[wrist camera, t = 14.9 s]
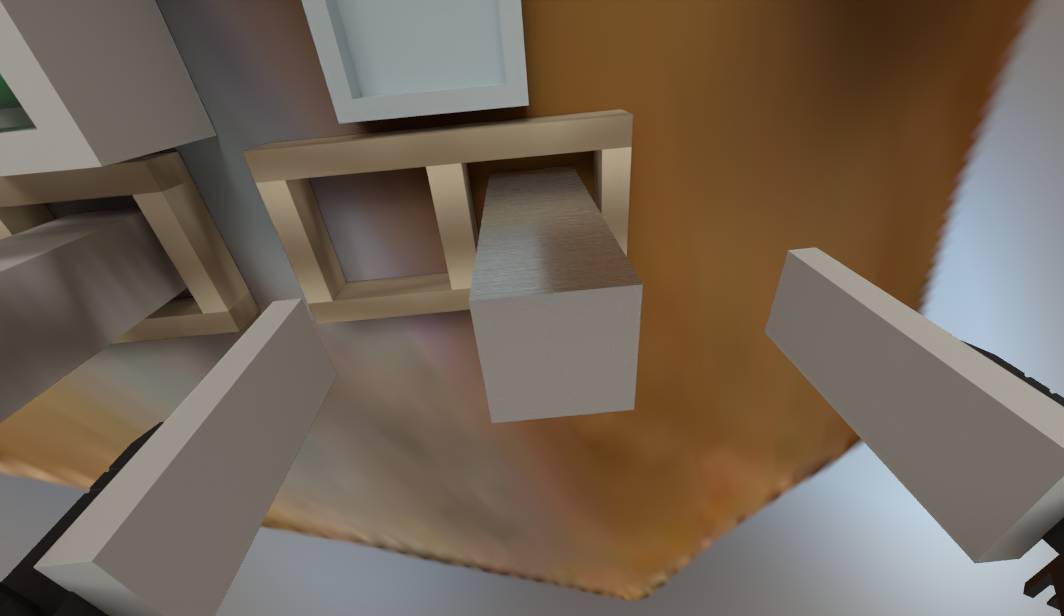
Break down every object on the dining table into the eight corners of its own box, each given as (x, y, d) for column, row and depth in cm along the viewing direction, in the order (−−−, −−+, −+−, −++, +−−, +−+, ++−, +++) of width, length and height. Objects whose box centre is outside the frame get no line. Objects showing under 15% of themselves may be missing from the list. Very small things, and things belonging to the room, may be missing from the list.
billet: (489, 173, 20) (468, 301, 9) (572, 165, 20) (643, 284, 9) (500, 254, 22) (492, 429, 12) (574, 247, 22) (633, 415, 12)
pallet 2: (266, 143, 18) (242, 151, 17) (621, 108, 18) (632, 114, 17) (330, 304, 23) (316, 324, 21) (616, 276, 23) (625, 294, 21)
